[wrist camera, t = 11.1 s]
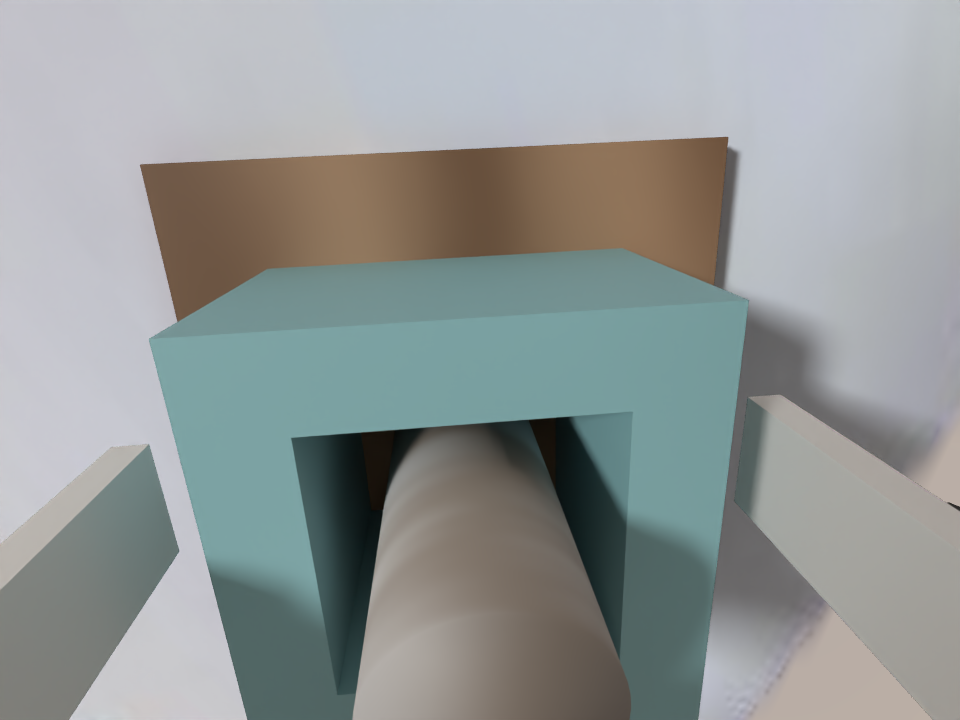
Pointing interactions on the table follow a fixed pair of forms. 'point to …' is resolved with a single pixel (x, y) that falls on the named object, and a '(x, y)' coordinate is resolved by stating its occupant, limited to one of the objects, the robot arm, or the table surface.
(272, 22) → the table surface
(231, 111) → the table surface
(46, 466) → the table surface
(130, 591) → the robot arm
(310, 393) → the collar
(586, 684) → the post stand
